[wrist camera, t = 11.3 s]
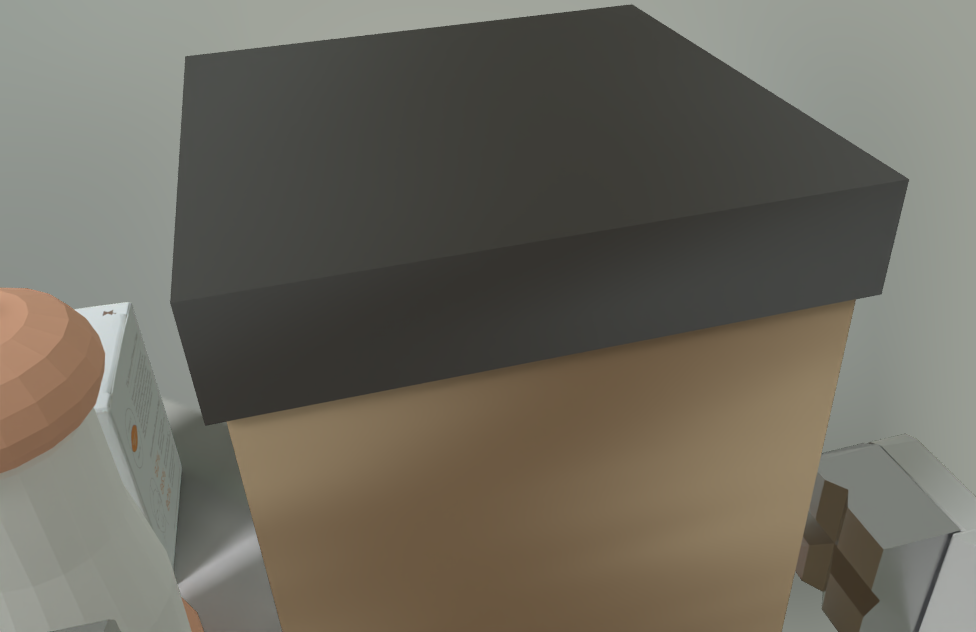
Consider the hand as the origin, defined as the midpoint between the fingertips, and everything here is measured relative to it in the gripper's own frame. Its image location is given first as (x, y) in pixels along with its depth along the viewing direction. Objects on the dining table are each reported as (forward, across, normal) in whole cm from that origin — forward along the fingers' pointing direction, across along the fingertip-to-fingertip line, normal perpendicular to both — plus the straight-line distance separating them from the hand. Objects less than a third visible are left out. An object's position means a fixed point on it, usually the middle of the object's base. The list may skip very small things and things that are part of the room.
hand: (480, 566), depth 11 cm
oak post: (-1, 0, +15) cm, 15 cm away
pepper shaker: (+16, +11, +23) cm, 30 cm away
